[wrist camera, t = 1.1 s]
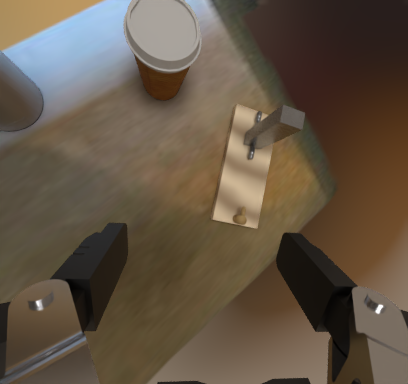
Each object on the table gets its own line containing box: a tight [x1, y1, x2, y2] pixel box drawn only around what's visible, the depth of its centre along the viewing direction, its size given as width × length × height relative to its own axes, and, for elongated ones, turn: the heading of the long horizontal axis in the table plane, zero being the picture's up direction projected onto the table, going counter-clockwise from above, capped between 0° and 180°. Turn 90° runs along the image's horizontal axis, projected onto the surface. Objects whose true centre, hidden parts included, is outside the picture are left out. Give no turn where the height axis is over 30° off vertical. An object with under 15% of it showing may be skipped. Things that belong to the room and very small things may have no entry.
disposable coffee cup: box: [124, 0, 202, 100], centre depth 29 cm, size 10×10×12 cm
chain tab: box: [243, 105, 305, 160], centre depth 31 cm, size 9×4×11 cm, turn 167°
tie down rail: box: [210, 104, 273, 228], centre depth 36 cm, size 22×9×4 cm, turn 167°
